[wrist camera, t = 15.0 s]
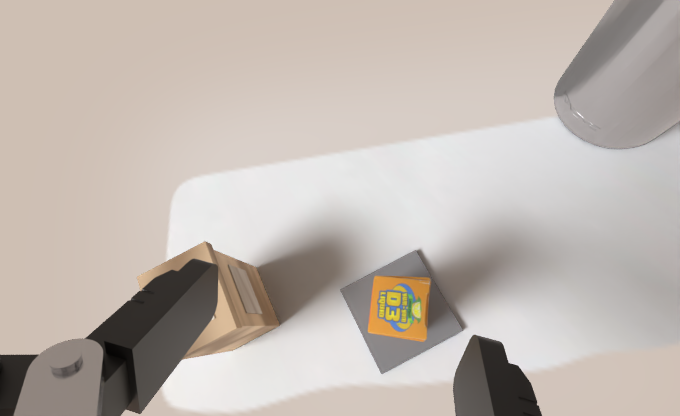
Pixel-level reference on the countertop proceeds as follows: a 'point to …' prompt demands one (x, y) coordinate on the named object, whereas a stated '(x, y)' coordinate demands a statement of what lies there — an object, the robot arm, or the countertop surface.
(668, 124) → the robot arm
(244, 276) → the box
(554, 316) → the countertop surface
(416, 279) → the supplement box
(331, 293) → the countertop surface
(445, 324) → the coaster
